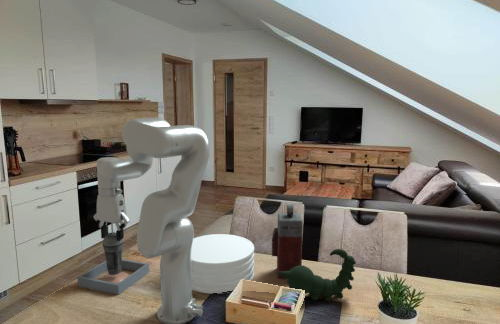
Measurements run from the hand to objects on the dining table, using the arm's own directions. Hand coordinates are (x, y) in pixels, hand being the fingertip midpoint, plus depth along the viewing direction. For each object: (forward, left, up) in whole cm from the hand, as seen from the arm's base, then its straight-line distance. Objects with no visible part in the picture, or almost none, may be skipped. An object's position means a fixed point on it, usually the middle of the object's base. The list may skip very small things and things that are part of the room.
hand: (112, 237), depth 134 cm
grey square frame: (0, 0, -16) cm, 16 cm away
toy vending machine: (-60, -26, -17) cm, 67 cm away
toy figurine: (-74, -12, -17) cm, 77 cm away
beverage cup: (0, 0, -14) cm, 14 cm away
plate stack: (-35, -16, -17) cm, 42 cm away
